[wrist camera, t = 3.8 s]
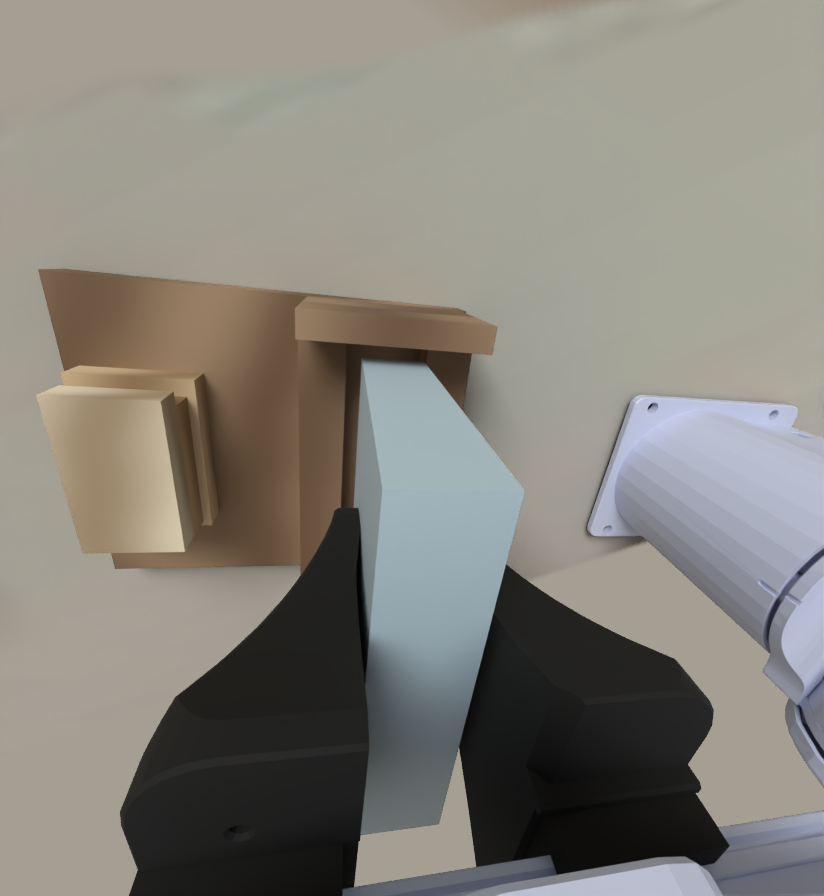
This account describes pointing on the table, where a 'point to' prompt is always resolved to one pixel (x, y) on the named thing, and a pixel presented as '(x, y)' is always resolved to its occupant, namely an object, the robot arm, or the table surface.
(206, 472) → the offcut stack
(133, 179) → the table surface
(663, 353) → the table surface
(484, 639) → the tall sheet
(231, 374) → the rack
